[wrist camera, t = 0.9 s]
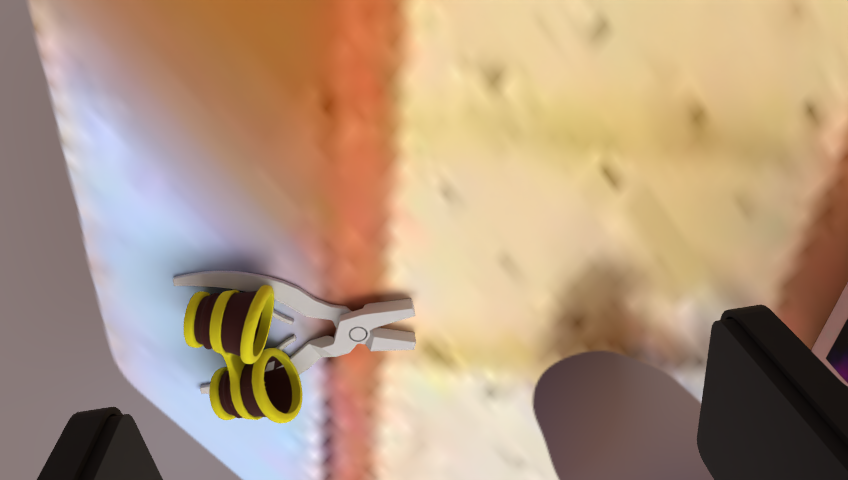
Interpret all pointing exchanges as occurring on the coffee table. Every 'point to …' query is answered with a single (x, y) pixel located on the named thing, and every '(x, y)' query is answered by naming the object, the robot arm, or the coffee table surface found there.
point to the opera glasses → (243, 355)
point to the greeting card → (835, 340)
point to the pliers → (347, 323)
